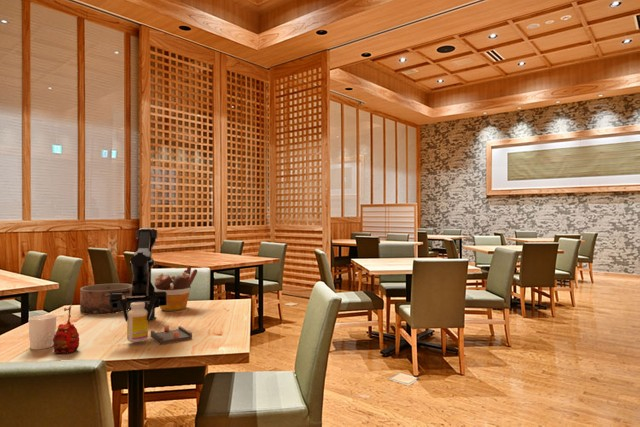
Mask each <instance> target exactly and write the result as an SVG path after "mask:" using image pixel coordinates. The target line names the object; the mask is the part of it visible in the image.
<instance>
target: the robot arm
mask: <svg viewBox="0 0 640 427" xmlns="http://www.w3.org/2000/svg"><path fill="white" fill-rule="evenodd" d="M135 232H136V233H135V239H137V242H138V248H137V251H134V253H133V256H132V257H131V259H130V262H129V267H130V268H131V273H132V282H131V285H132V289H131V296H129V297H126V296H123V294H122V293H113V294H111V295H110V298H109V301H110V307H111V308H118V309H119V310H122V311H123V312H122V313H123V318H124V321H125V322H127V314H128V310H127V304H126V303H127V302H128V308H131V307H130V305H131V303H133V302H145V307H144V309H146V310H147V311H148V317H147V320H148V322H149V321H153V320H155V319H157V317H156V316H155V315H156V314H155V313H156V312H155V311H156V309H158V308H160V306H165V305H167V292H165V291H156V287H154V286H155V285H153V283H152V268H153V267H154V265H155V259H153V258H154V257H152V256H153V255H152V254H153V251H152V250H153V248H154V246H155V245H156V243H157V241H156V240H158V237H159V236H158V230H157V229H155V228H151V227H141V228H139V229H136V231H135Z"/></svg>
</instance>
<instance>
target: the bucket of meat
mask: <svg viewBox="0 0 640 427" xmlns="http://www.w3.org/2000/svg"><path fill="white" fill-rule="evenodd" d="M197 273H198V269H196V268H195V269H193V270H192V266H191V265H188V266H187V267H186V269H184V271H183V272H182V275H181V274H177V276H175V275H171V276H170V275H169V274H164V273H163V272H161V273H159V274H157V275H155V276H154V280H155V281H154V286H155V291H156V292H157V291H165V292H167V305H165V306H159V309H161V311H164V312H176V311H177V312H178V311H182V310H185V309H186V307H187V306H188V301H189V298H190V292H191V285H192V284H193V281H194V279H195V278H196V276H197Z"/></svg>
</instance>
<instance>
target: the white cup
mask: <svg viewBox="0 0 640 427" xmlns="http://www.w3.org/2000/svg"><path fill="white" fill-rule="evenodd" d="M56 331H57V314H50V313H49V314H38V315H33V316H30V317H28V336H29V337H28V338H29V348H30V350H34V351H35V350H38V351H39V350H45V349H49V348H52V347H53V345H54V342H53V338H54V335H55V334H56Z"/></svg>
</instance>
